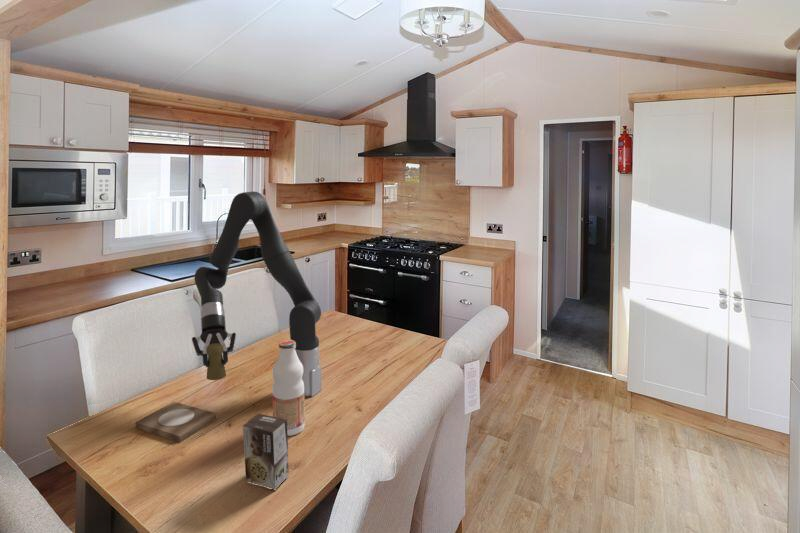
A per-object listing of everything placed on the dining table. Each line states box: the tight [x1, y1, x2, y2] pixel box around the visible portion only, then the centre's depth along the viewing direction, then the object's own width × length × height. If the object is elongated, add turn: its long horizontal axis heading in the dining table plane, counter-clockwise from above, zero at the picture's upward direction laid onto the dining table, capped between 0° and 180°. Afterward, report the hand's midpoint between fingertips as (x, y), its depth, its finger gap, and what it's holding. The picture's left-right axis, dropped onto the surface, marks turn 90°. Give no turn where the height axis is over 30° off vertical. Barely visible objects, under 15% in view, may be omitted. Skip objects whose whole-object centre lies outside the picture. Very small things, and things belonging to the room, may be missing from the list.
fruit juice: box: [271, 339, 306, 437], centre depth 135 cm, size 9×9×28 cm
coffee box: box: [242, 413, 290, 489], centre depth 113 cm, size 9×6×16 cm
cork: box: [206, 343, 227, 381], centre depth 146 cm, size 6×6×11 cm
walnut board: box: [134, 401, 217, 443], centre depth 139 cm, size 18×14×2 cm
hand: (215, 364), depth 145 cm, fingers closed on cork, 4 cm apart
